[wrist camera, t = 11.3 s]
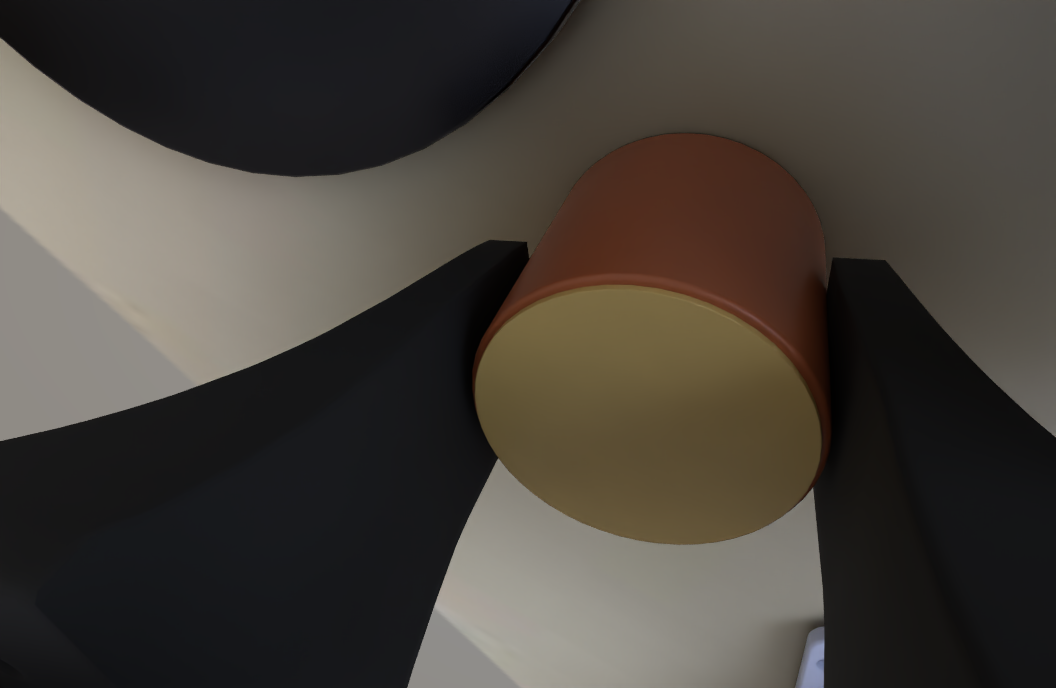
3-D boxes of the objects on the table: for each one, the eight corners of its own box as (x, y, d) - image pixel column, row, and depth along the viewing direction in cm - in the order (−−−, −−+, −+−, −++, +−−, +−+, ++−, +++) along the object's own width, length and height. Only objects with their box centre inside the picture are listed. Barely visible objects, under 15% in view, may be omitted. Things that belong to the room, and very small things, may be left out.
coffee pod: (805, 374, 11) (804, 577, 8) (566, 350, 13) (493, 517, 10) (847, 130, 9) (867, 297, 6) (543, 131, 10) (435, 267, 7)
